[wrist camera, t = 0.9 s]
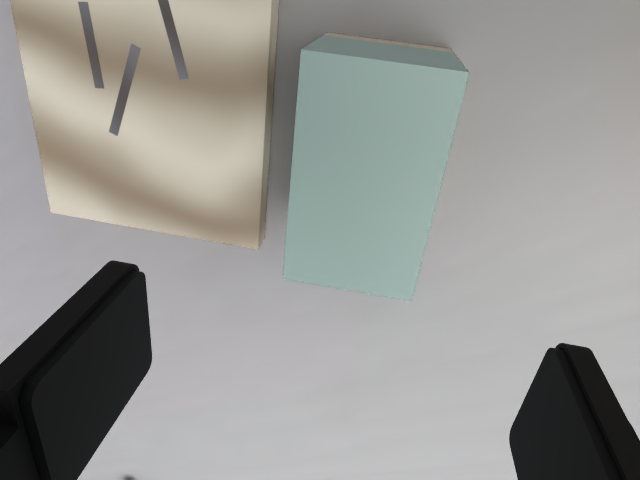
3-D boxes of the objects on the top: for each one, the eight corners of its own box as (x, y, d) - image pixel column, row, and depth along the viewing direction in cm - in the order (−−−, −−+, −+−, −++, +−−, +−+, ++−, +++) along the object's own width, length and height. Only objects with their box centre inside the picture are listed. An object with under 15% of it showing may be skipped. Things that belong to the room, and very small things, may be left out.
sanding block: (327, 32, 23) (301, 49, 17) (451, 48, 22) (469, 72, 16) (308, 214, 28) (282, 278, 22) (409, 231, 27) (411, 301, 21)
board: (-7, -220, 20) (-36, -234, 19) (290, -190, 19) (282, -203, 18) (66, 202, 30) (50, 212, 29) (264, 237, 29) (258, 249, 28)
